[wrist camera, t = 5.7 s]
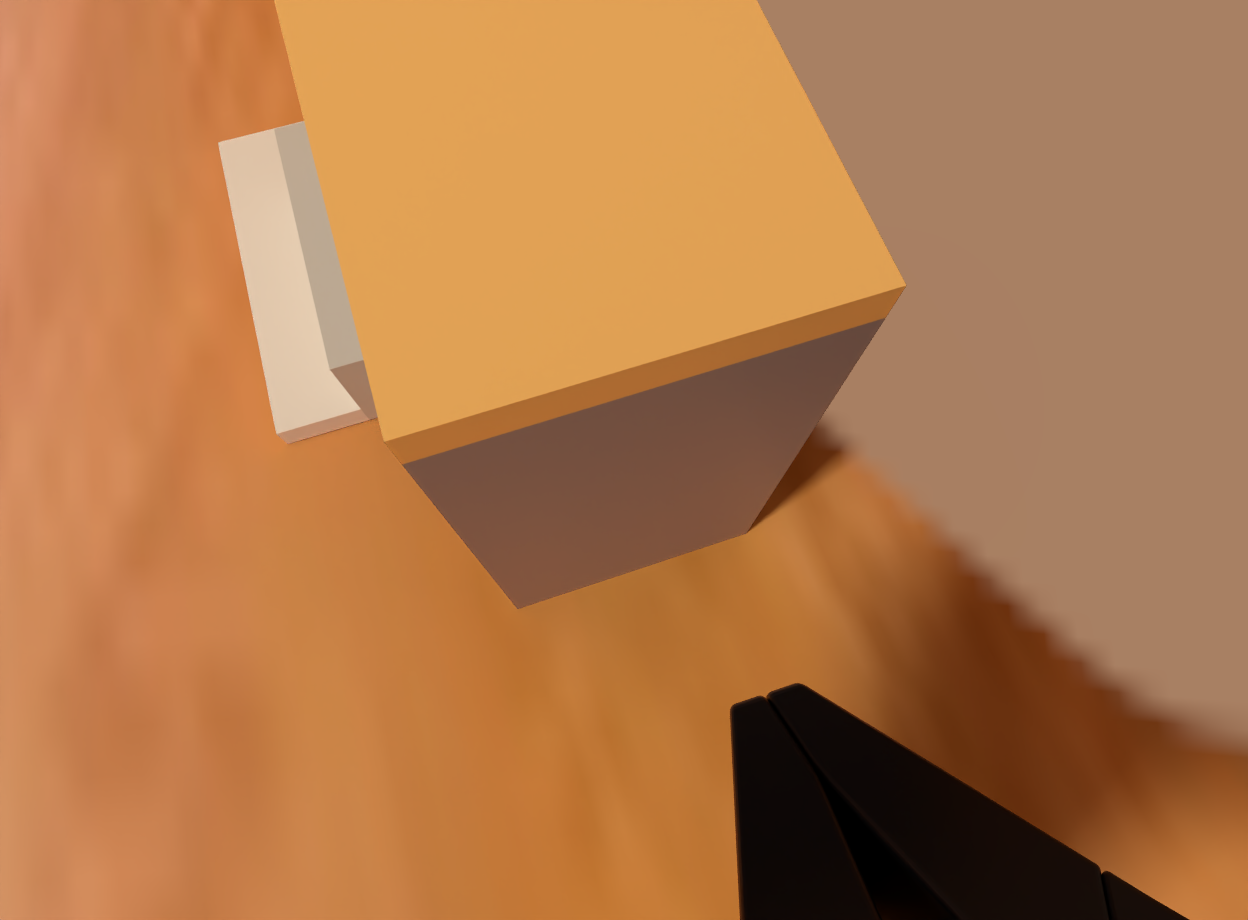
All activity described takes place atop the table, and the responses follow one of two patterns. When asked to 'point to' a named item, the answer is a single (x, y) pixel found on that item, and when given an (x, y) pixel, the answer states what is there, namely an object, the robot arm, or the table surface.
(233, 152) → the bracket
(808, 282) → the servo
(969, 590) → the table surface
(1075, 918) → the robot arm
